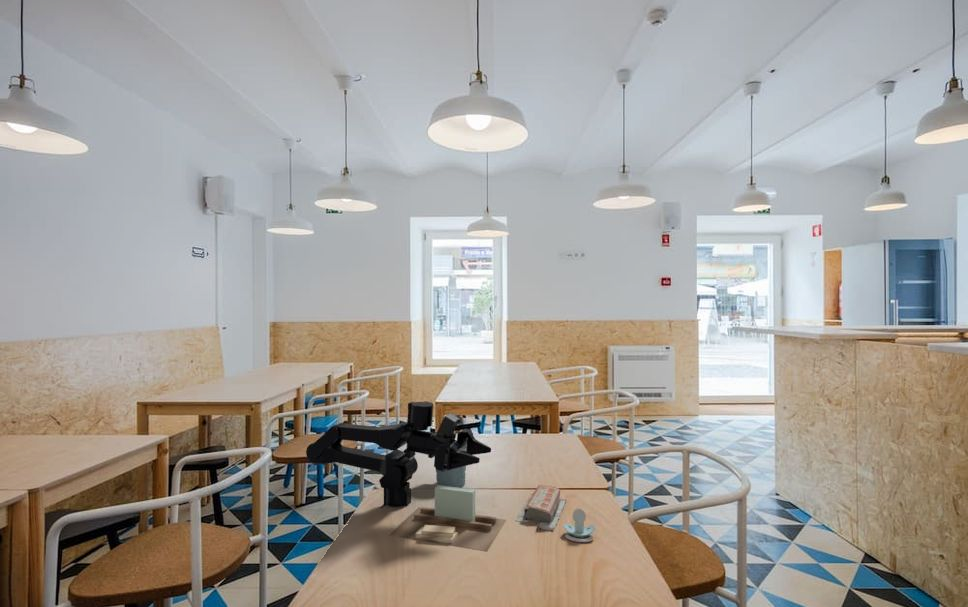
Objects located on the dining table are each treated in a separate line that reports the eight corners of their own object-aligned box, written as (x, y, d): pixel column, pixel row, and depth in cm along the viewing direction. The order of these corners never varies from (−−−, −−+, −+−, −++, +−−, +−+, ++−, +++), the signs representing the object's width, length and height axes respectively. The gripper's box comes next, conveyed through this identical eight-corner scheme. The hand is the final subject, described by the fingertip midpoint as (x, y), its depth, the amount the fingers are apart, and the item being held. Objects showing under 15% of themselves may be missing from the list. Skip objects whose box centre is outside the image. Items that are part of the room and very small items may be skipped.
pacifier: (595, 545, 111) (594, 532, 117) (595, 518, 111) (594, 507, 117) (562, 542, 113) (563, 529, 118) (562, 516, 112) (563, 504, 118)
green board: (434, 519, 121) (434, 487, 121) (437, 516, 123) (437, 484, 123) (472, 525, 118) (472, 492, 118) (475, 521, 120) (475, 489, 120)
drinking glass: (473, 482, 149) (473, 443, 149) (454, 493, 140) (454, 451, 140) (446, 476, 154) (446, 438, 154) (426, 486, 146) (426, 446, 146)
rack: (388, 539, 113) (388, 529, 113) (418, 511, 129) (418, 502, 129) (487, 555, 106) (487, 545, 106) (506, 523, 121) (506, 515, 121)
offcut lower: (415, 537, 112) (415, 533, 112) (422, 530, 116) (422, 526, 116) (452, 543, 109) (452, 539, 109) (457, 536, 113) (457, 532, 113)
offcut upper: (421, 535, 111) (421, 530, 111) (425, 529, 114) (425, 524, 114) (452, 537, 110) (452, 532, 110) (455, 531, 113) (455, 526, 113)
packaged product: (531, 481, 138) (566, 486, 135) (531, 498, 138) (566, 503, 135) (514, 507, 121) (554, 513, 118) (514, 526, 121) (554, 533, 118)
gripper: (416, 420, 120) (476, 432, 115) (446, 406, 137) (499, 416, 132) (412, 465, 120) (471, 479, 115) (442, 445, 137) (495, 456, 132)
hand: (485, 455), depth 124 cm, fingers open, 9 cm apart
